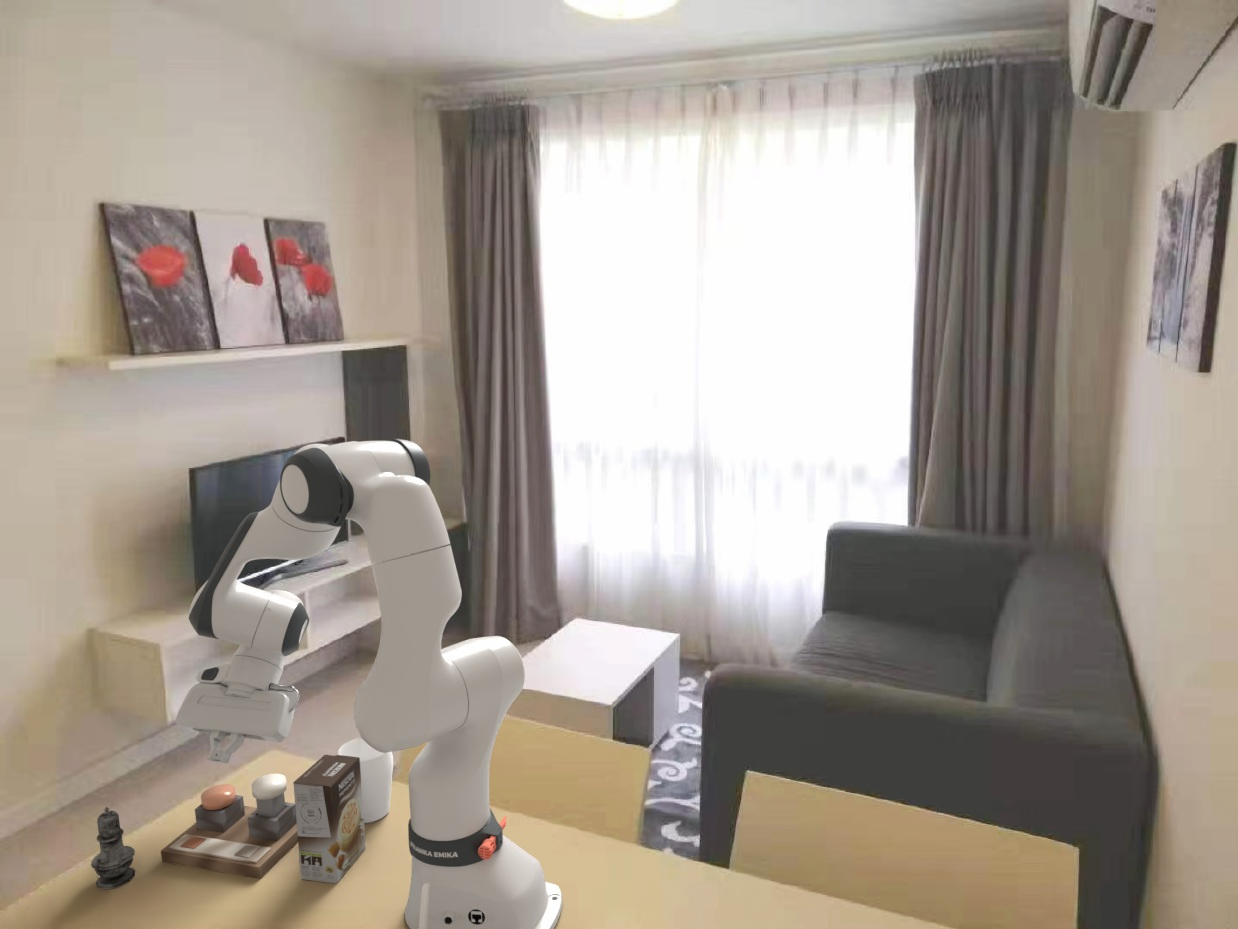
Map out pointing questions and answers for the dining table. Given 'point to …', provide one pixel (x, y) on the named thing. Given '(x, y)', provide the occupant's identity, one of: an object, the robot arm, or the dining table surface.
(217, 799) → the terracotta button
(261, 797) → the white button
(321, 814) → the coffee box
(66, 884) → the dining table surface
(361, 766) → the cup
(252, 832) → the pattern board
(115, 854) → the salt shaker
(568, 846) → the dining table surface
